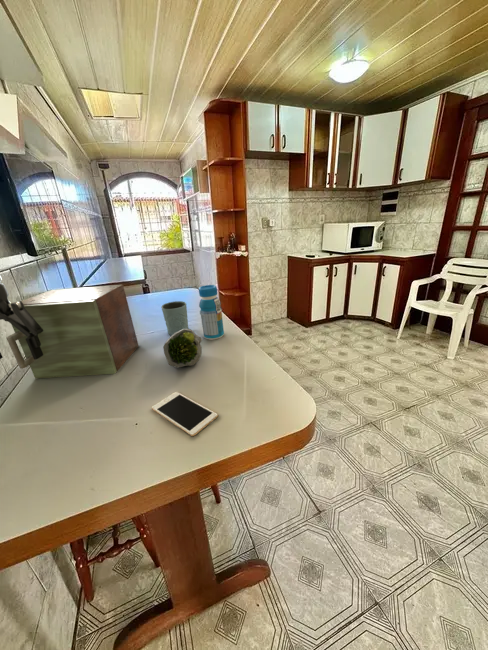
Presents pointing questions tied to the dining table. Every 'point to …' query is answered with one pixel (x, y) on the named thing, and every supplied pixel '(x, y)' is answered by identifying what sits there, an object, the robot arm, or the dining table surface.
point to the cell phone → (185, 413)
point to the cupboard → (111, 312)
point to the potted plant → (183, 348)
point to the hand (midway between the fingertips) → (18, 358)
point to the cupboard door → (66, 341)
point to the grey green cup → (175, 316)
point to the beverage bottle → (210, 312)
